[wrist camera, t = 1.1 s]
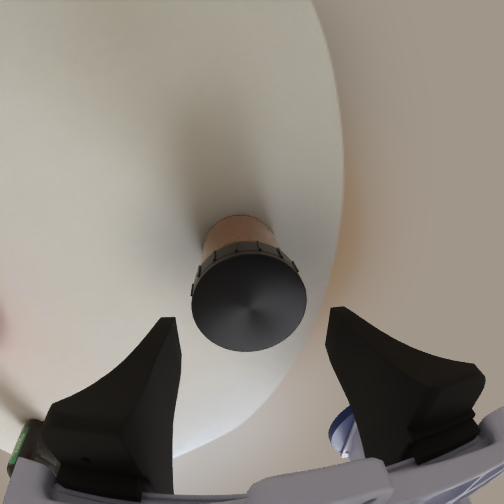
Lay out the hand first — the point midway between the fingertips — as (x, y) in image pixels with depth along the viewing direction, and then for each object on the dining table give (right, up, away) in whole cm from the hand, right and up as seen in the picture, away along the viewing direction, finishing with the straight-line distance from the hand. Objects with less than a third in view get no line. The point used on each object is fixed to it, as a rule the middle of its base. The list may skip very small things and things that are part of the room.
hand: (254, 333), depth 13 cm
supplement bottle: (-27, -21, +16) cm, 38 cm away
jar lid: (0, +1, +2) cm, 2 cm away
